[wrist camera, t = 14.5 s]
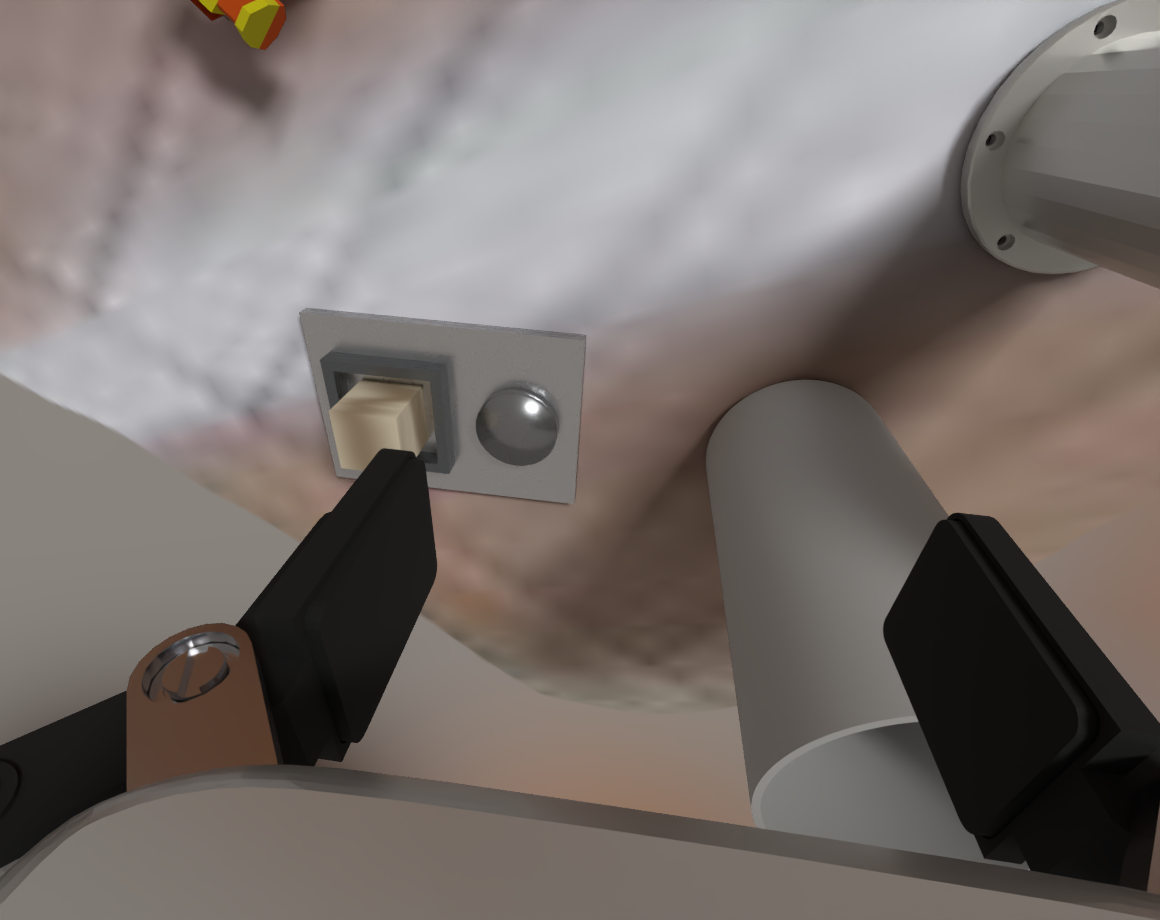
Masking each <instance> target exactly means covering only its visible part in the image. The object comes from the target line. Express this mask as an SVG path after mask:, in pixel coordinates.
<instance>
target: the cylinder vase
mask: <svg viewBox="0 0 1160 920" xmlns="http://www.w3.org/2000/svg"><path fill="white" fill-rule="evenodd" d="M706 472H707V480H708V488H709V495H710V503H711V510H712V518H713V525H714V533H715V540H716V548H717V555H718V563H719V570H720V578H721V585H722V593H723V600H724V608H725V615H726V623H727V630H728V638H729V645H730V653H731V661H732V668H733V676H734V683H735V691H736V698H737V706H738V713H739V721H740V728H741V735H742V743H743V750H744V758H745V765H746V773H747V781H748V788H749V796H750V803H751V811H752V816H753V819H754V822H755V825H756V827H757V828H762V829H768V830H775V831H781V832H788V833H794V834H801V835H808V836H814V837H821V838H827V839H834V840H840V841H846V842H853V843H859V844H866V845H872V846H879V847H885V848H891V849H898V850H904V851H911V852H917V853H923V854H930V855H936V856H943V857H949V858H955V859H962V860H968V861H975V862H981V863H987V864H994V865H1000V866H1006V867H1012V868H1018V869H1024V870H1029V871H1030V869H1029V866H1028V864H1027V862H1026V861H1025V862H1024V863H1022V864H1015V863H1009V862H1002V861H996V860H989V859H984V857H983V855H982V853H981V850H980V848H979V846H978V843H977V841H976V839H975V836H974V834H970V833H969V832H968V831H966V829H965V828H964V827H963V825H962V824H961V822H960V820H959V817H958V815H957V813H956V810H955V808H954V805H953V803H952V801H951V798H950V796H949V793H948V791H947V789H946V786H945V784H944V781H943V779H942V777H941V774H940V772H939V769H938V767H937V765H936V762H935V760H934V758H933V755H932V753H931V750H930V748H929V746H928V743H927V741H926V738H925V736H924V734H923V731H922V729H921V726H920V724H919V722H918V719H917V717H916V714H915V712H914V710H913V707H912V705H911V702H910V700H909V698H908V695H907V693H906V691H905V688H904V686H903V683H902V681H901V679H900V676H899V674H898V671H897V669H896V667H895V664H894V662H893V659H892V657H891V655H890V652H889V650H888V647H887V645H886V643H885V640H884V636H883V624H884V621H885V618H886V616H887V615H888V613H889V611H890V609H891V607H892V605H893V603H894V602H895V600H896V598H897V596H898V594H899V592H900V591H901V589H902V587H903V585H904V583H905V581H906V579H907V578H908V576H909V574H910V572H911V570H912V568H913V566H914V565H915V563H916V561H917V559H918V557H919V555H920V554H921V552H922V550H923V548H924V546H925V544H926V542H927V541H928V539H929V537H930V535H931V533H932V531H933V529H934V528H935V526H936V524H937V523H938V522H939V521H941V520H946V519H947V518H948V517H949V516H948V514H947V513H946V512H945V510H944V509H943V507H942V506H941V504H940V503H939V502H938V500H937V499H936V497H935V496H934V494H933V493H932V491H931V490H930V489H929V487H928V486H927V484H926V483H925V481H924V480H923V478H922V477H921V476H920V474H919V473H918V471H917V470H916V468H915V467H914V465H913V464H912V463H911V461H910V460H909V458H908V457H907V455H906V454H905V452H904V451H903V450H902V448H901V447H900V445H899V444H898V442H897V441H896V439H895V438H894V437H893V435H892V434H891V432H890V431H889V429H888V428H887V426H886V425H885V424H884V422H883V421H882V419H881V418H880V416H879V415H878V414H877V412H876V411H875V409H874V408H873V407H872V406H871V405H870V404H869V403H868V402H867V401H866V400H865V399H864V398H862V397H861V396H860V395H858V394H857V393H855V392H853V391H852V390H850V389H848V388H845V387H843V386H840V385H838V384H834V383H830V382H826V381H819V380H793V381H786V382H781V383H777V384H774V385H771V386H768V387H765V388H763V389H760V390H758V391H756V392H754V393H752V394H750V395H749V396H747V397H745V398H744V399H742V400H741V401H740V402H738V403H737V404H736V405H735V406H733V407H732V408H731V409H730V410H729V411H728V412H727V413H726V414H725V415H724V417H723V418H722V419H721V420H720V422H719V423H718V425H717V426H716V428H715V430H714V431H713V433H712V436H711V438H710V441H709V444H708V447H707V452H706Z"/></svg>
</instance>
